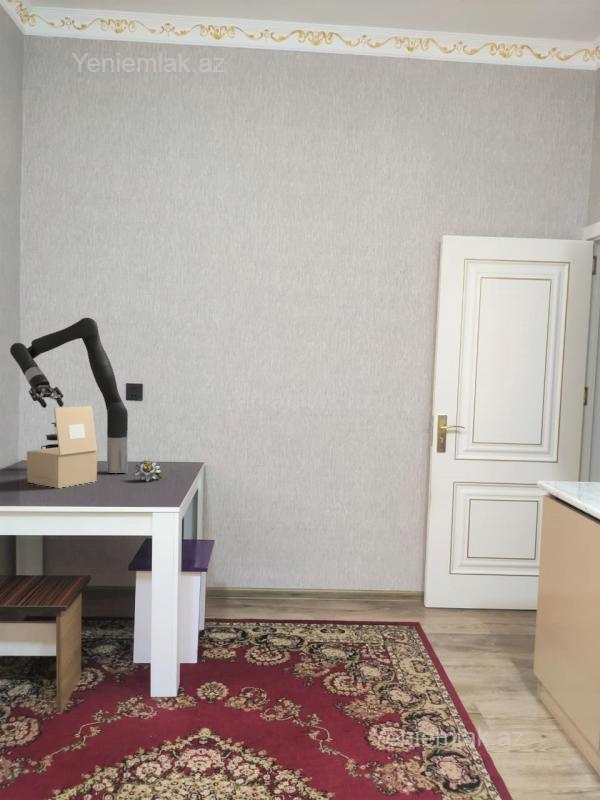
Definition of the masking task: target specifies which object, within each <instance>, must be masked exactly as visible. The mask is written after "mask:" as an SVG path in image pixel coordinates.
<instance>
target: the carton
mask: <svg viewBox="0 0 600 800" xmlns="http://www.w3.org/2000/svg"><path fill="white" fill-rule="evenodd" d="M97 474H98V449H97V450H95V451H87V452H79V453H71V454H63V455H59V448H58V447H57V448H48V449H46V448H42V449H41V448H40V449H34V450H33V449H32V450H27V451H26V475H27V483H28V482H32V483H37V484H41V485H45V486H50V487H49V488H51V487H55V488H54V489H57V488H60V489H63V488H62V487H66V488H70V487H69V486H71V487H75V486H74V485H77V486H80V485H79V484H82V485H85V484H84V483H88V484H90V483H89V482H93V483H96V482H95V481H98V480H97V479H98V478H97V477H98V476H97ZM45 486H44V487H45Z"/></svg>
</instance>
